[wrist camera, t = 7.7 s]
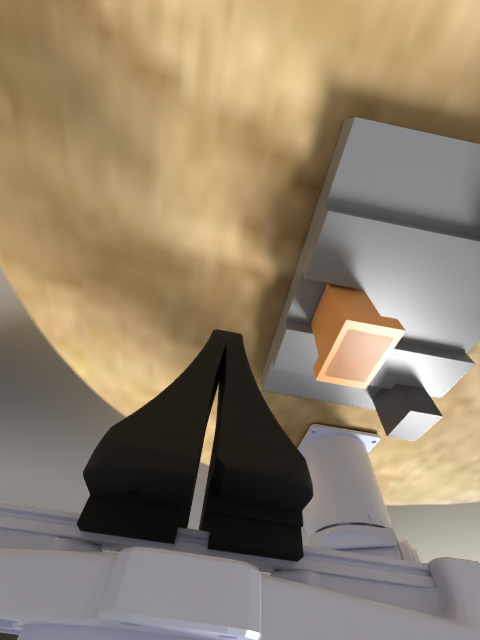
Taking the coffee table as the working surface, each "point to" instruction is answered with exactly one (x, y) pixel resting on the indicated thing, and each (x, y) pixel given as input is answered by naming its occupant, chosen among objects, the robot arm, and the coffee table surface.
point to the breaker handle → (351, 337)
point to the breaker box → (391, 270)
